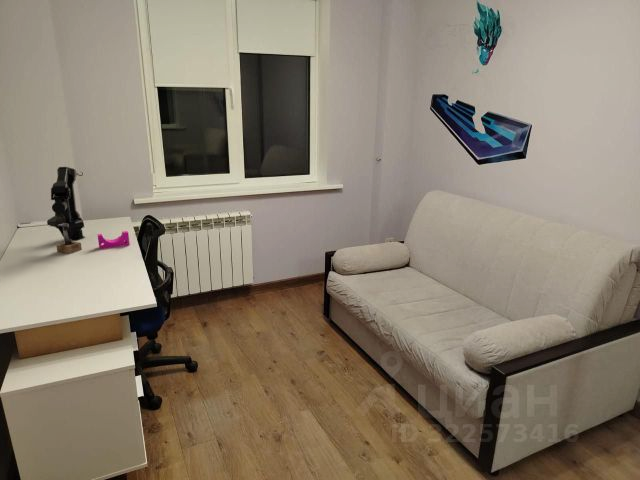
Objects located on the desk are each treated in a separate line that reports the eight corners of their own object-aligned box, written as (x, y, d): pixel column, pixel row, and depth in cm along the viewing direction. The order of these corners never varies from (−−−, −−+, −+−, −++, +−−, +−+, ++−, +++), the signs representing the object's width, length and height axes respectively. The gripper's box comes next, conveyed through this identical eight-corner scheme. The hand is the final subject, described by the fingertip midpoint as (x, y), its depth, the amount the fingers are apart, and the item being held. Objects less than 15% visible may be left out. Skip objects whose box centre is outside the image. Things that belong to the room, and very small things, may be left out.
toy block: (128, 242, 250) (126, 229, 248) (129, 245, 245) (128, 232, 243) (98, 246, 243) (97, 233, 241) (99, 249, 238) (98, 235, 236)
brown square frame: (57, 252, 231) (56, 245, 230) (70, 248, 239) (68, 241, 238) (69, 254, 229) (68, 246, 228) (81, 249, 236) (80, 242, 235)
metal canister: (63, 244, 232) (60, 226, 229) (68, 243, 235) (65, 224, 232) (68, 245, 231) (65, 226, 228) (73, 243, 234) (70, 225, 231)
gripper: (35, 211, 223) (40, 241, 227) (64, 214, 218) (69, 244, 222) (54, 206, 233) (59, 235, 238) (82, 209, 228) (86, 238, 232)
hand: (67, 238), depth 232 cm, fingers closed on metal canister, 3 cm apart
